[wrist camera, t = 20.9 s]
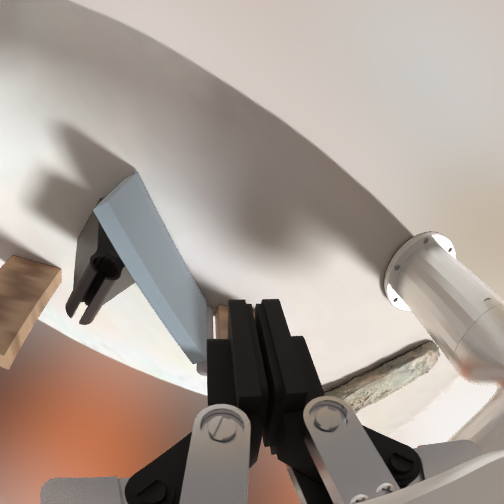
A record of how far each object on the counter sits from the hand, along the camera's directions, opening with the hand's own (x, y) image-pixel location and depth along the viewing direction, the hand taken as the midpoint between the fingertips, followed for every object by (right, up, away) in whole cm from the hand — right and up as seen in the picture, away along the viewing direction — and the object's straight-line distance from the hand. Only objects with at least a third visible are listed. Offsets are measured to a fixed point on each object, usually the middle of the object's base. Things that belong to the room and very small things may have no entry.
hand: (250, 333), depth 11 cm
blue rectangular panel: (-9, +3, +24) cm, 26 cm away
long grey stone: (+19, -23, +42) cm, 51 cm away
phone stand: (-15, +4, +23) cm, 28 cm away
